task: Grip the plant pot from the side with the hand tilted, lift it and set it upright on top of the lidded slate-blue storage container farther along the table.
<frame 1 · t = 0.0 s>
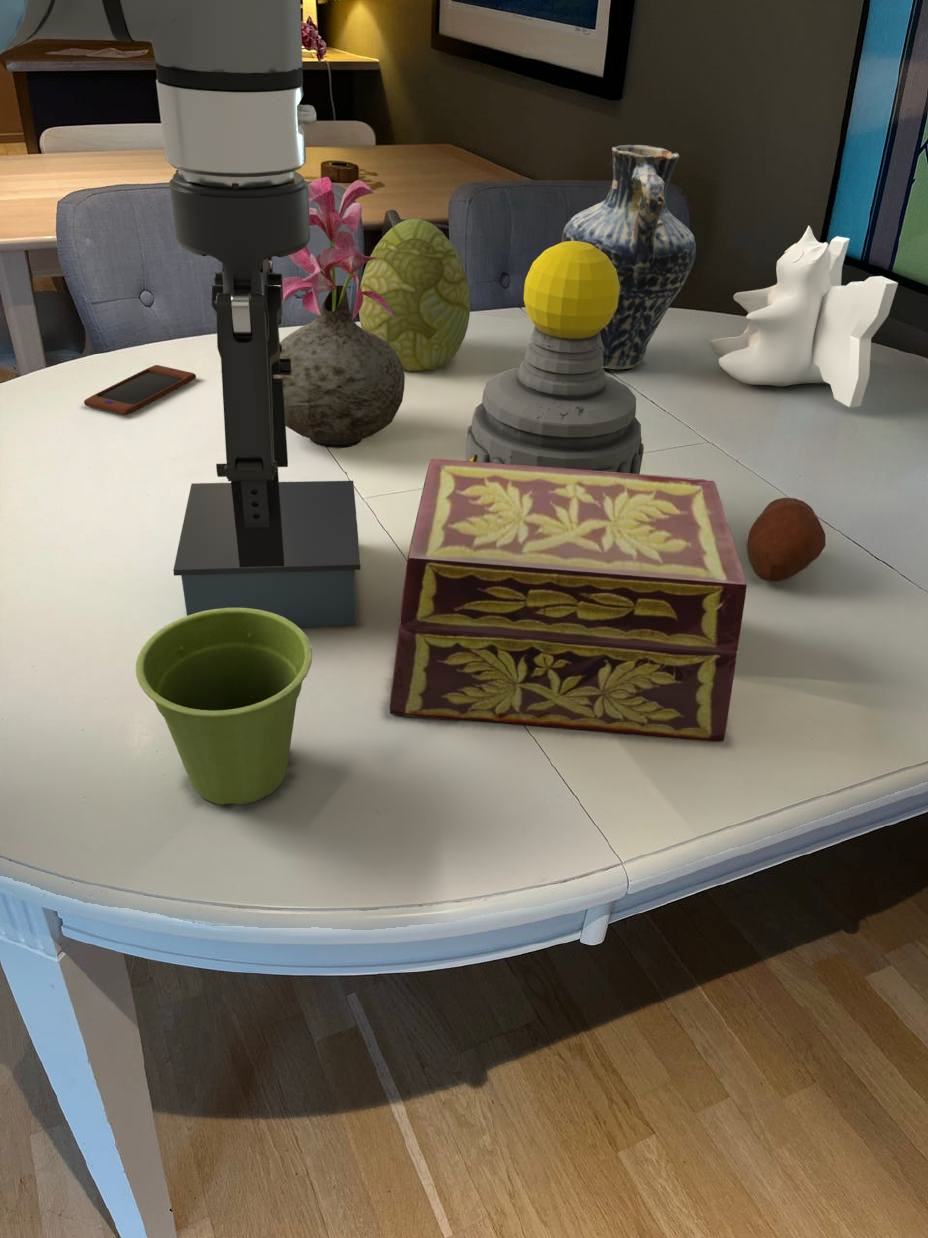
hand: (266, 510, 65), 20 cm above the table, tool pointing down, fingers open, 13 cm apart
potato: (777, 569, 101), on the table
decorative box: (554, 662, 86), on the table
smartphone: (142, 393, 129), on the table
decorative sculpture: (413, 359, 145), on the table
cat figurine: (778, 381, 145), on the table
vase: (338, 436, 122), on the table
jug: (612, 362, 149), on the table
burger: (314, 385, 135), on the table
decorative lamp: (544, 527, 105), on the table
container: (275, 583, 93), on the table
plant pot: (239, 775, 72), on the table
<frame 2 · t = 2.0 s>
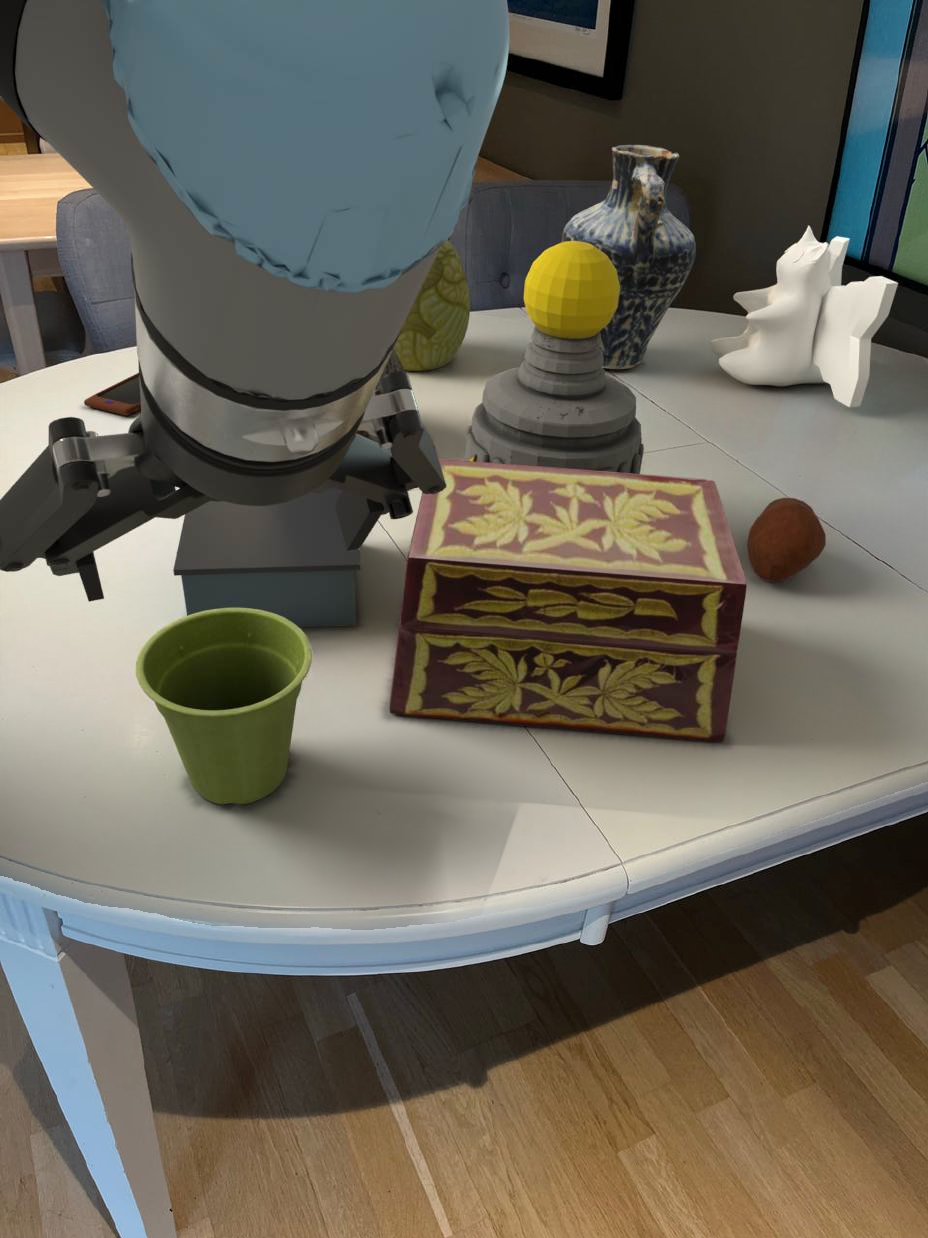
hand: (224, 550, 51), 25 cm above the table, tool tilted 45°, fingers open, 13 cm apart
nothing on the table moved.
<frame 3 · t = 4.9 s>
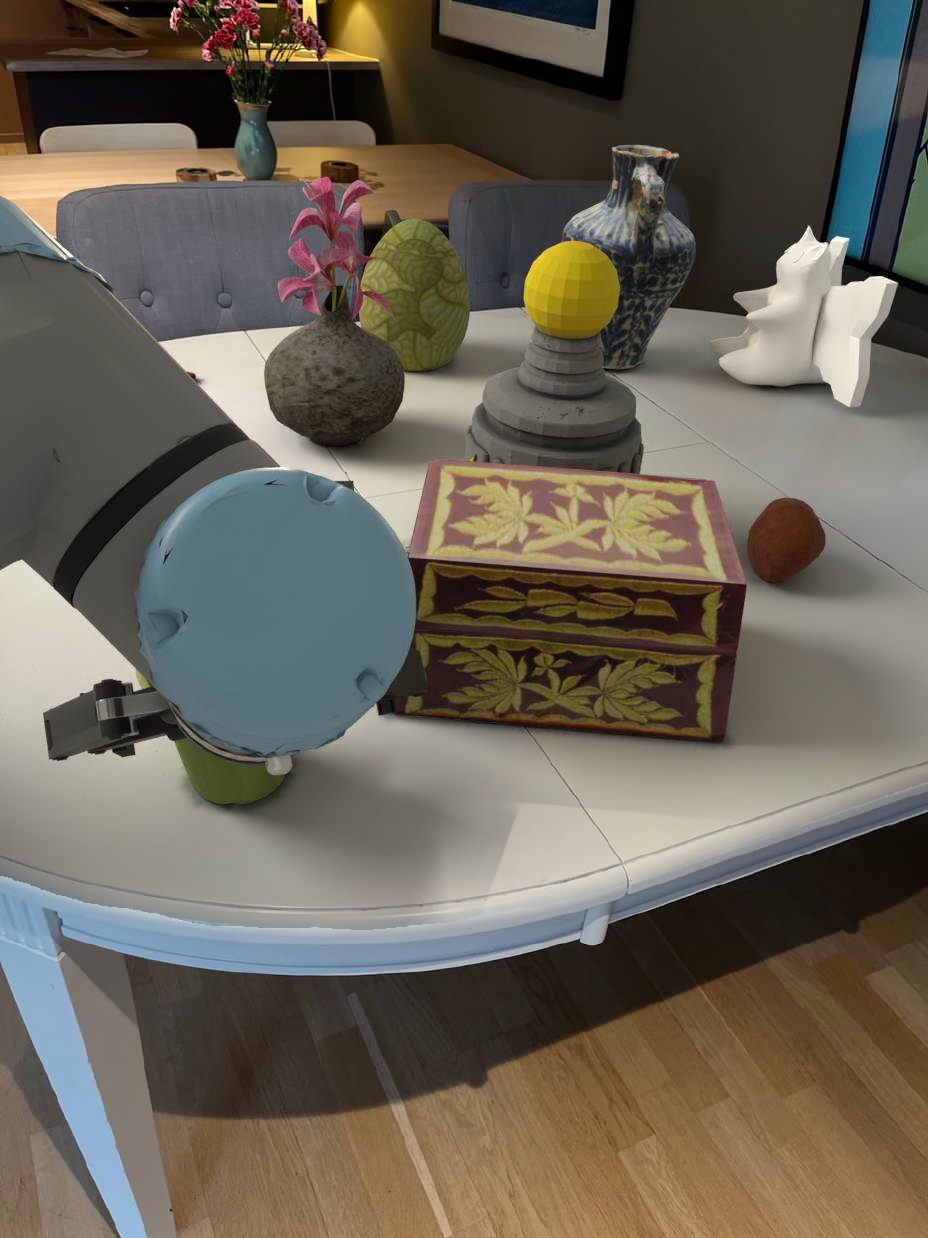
hand: (240, 714, 59), 12 cm above the table, tool tilted 45°, fingers open, 13 cm apart
nothing on the table moved.
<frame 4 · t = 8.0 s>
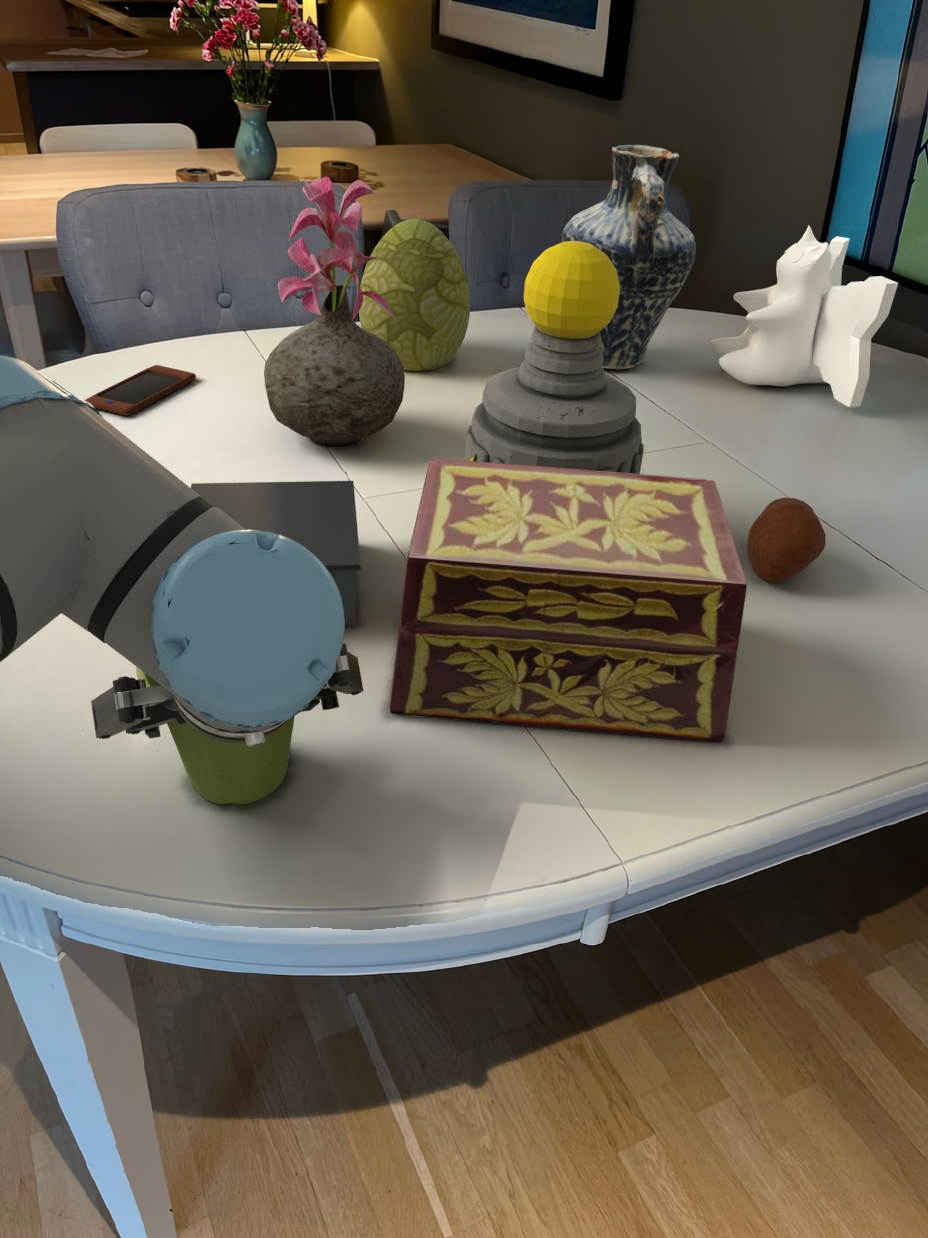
hand: (229, 706, 72), 4 cm above the table, tool tilted 45°, fingers closed on plant pot, 10 cm apart
plant pot: (239, 775, 72), on the table, touching gripper
everything else where it was.
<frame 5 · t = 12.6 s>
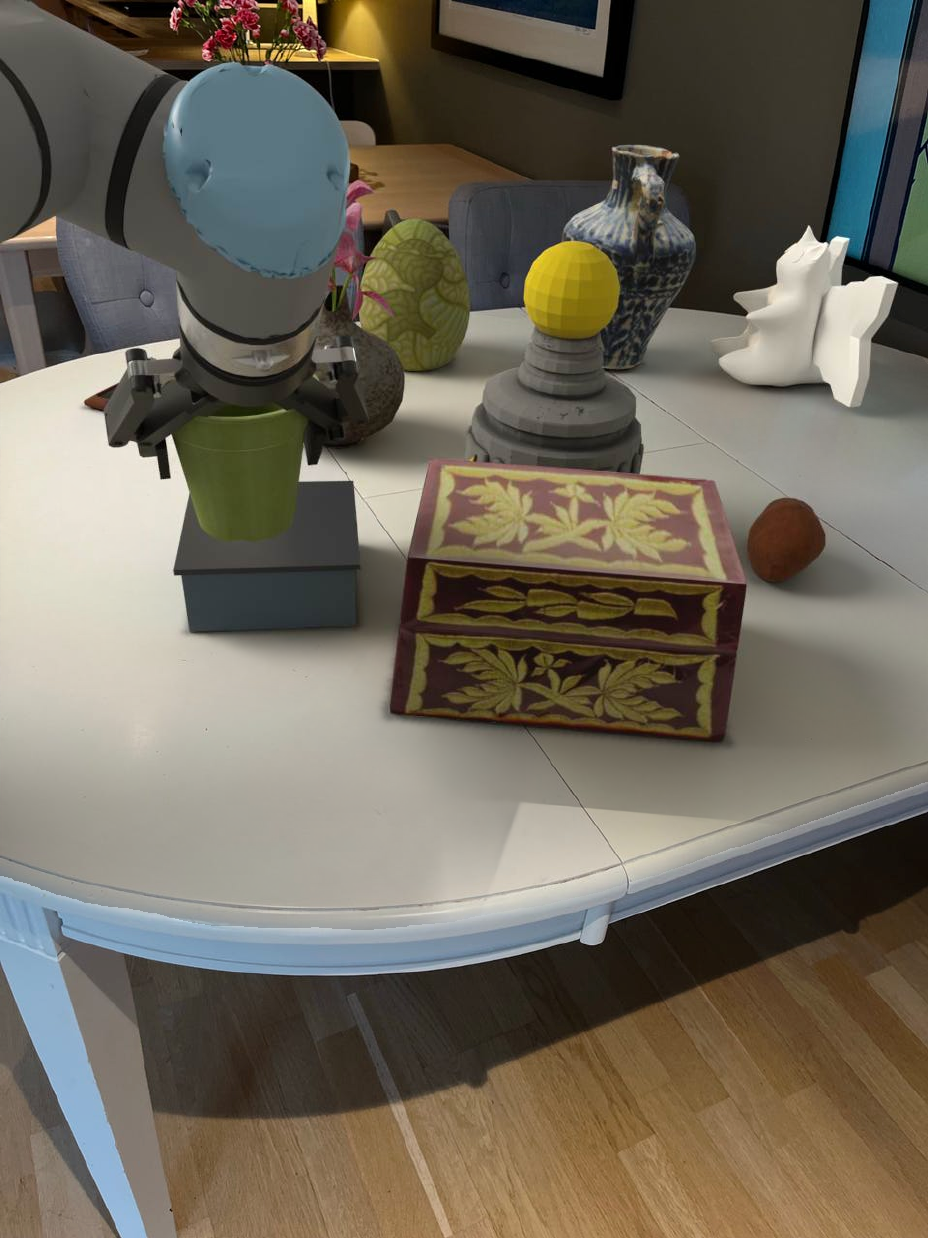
hand: (238, 455, 74), 19 cm above the table, tool tilted 45°, fingers closed on plant pot, 10 cm apart
plant pot: (248, 524, 74), point 15 cm above the table, touching gripper
everything else where it was.
when the fingers open (11 cm above the table, at t = 17.1 s): plant pot stays where it is, resting on container.
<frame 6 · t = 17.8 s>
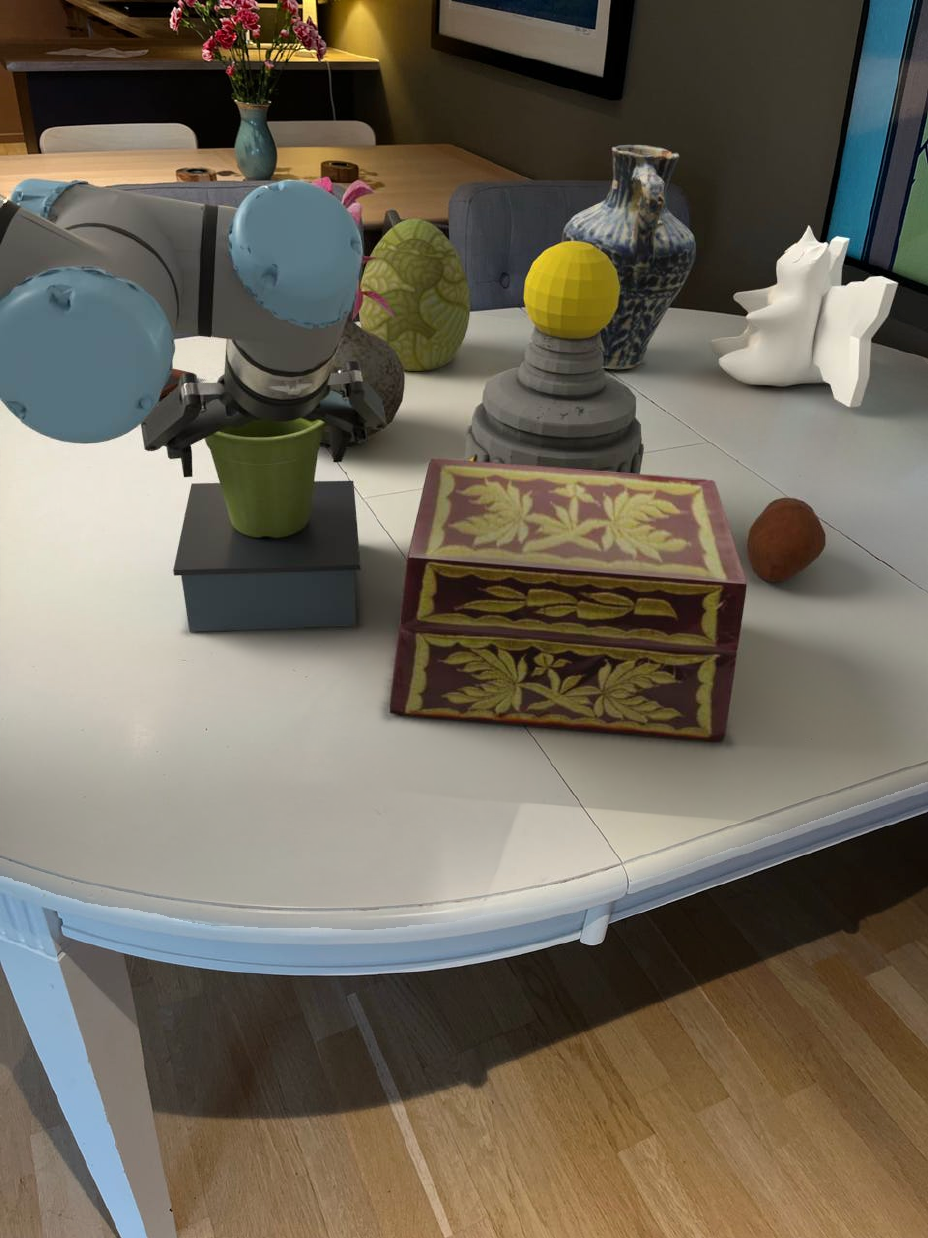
hand: (262, 455, 88), 13 cm above the table, tool tilted 45°, fingers open, 13 cm apart
plant pot: (271, 523, 89), point 7 cm above the table, touching container
everything else where it was.
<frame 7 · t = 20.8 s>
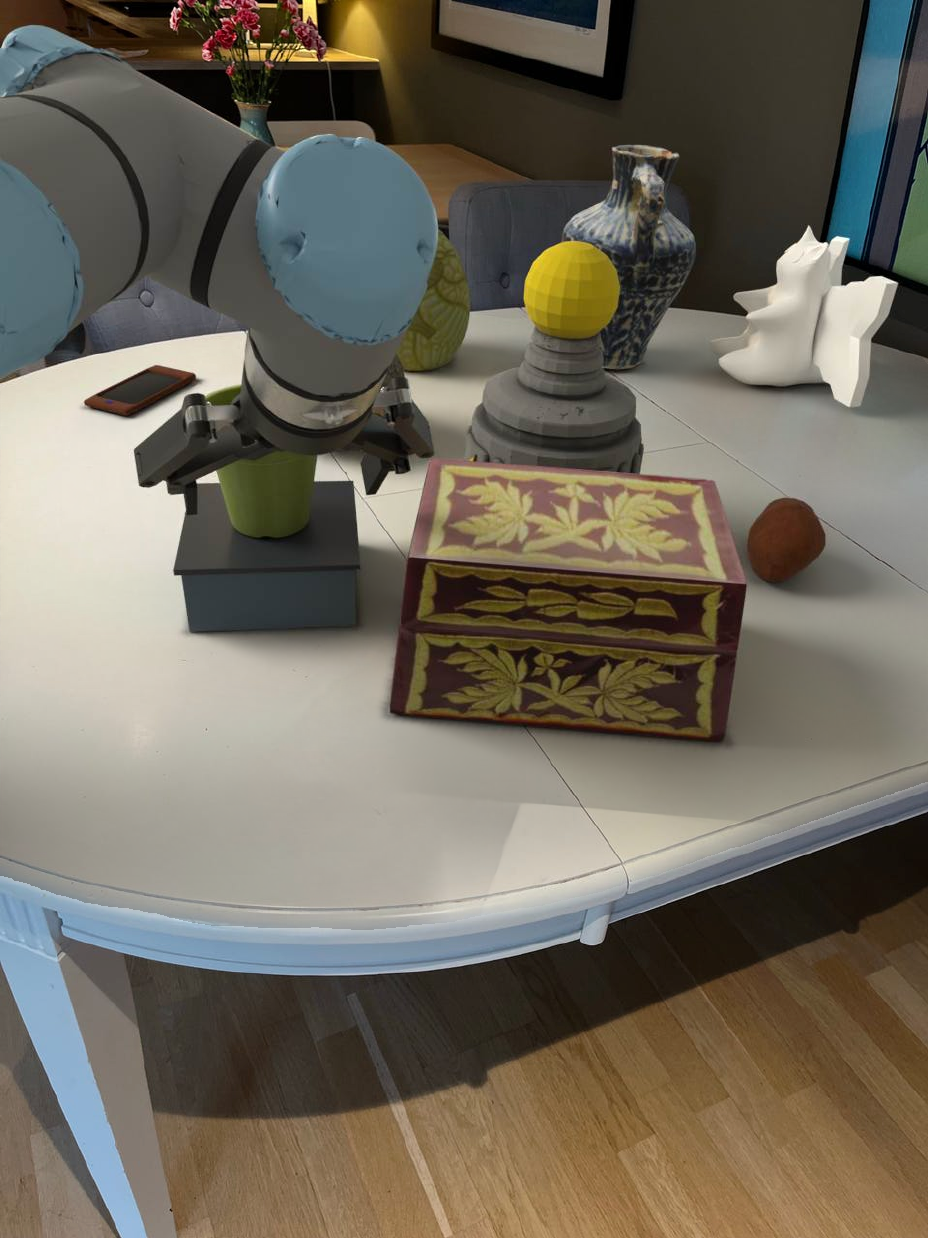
hand: (280, 487, 73), 17 cm above the table, tool tilted 45°, fingers open, 13 cm apart
nothing on the table moved.
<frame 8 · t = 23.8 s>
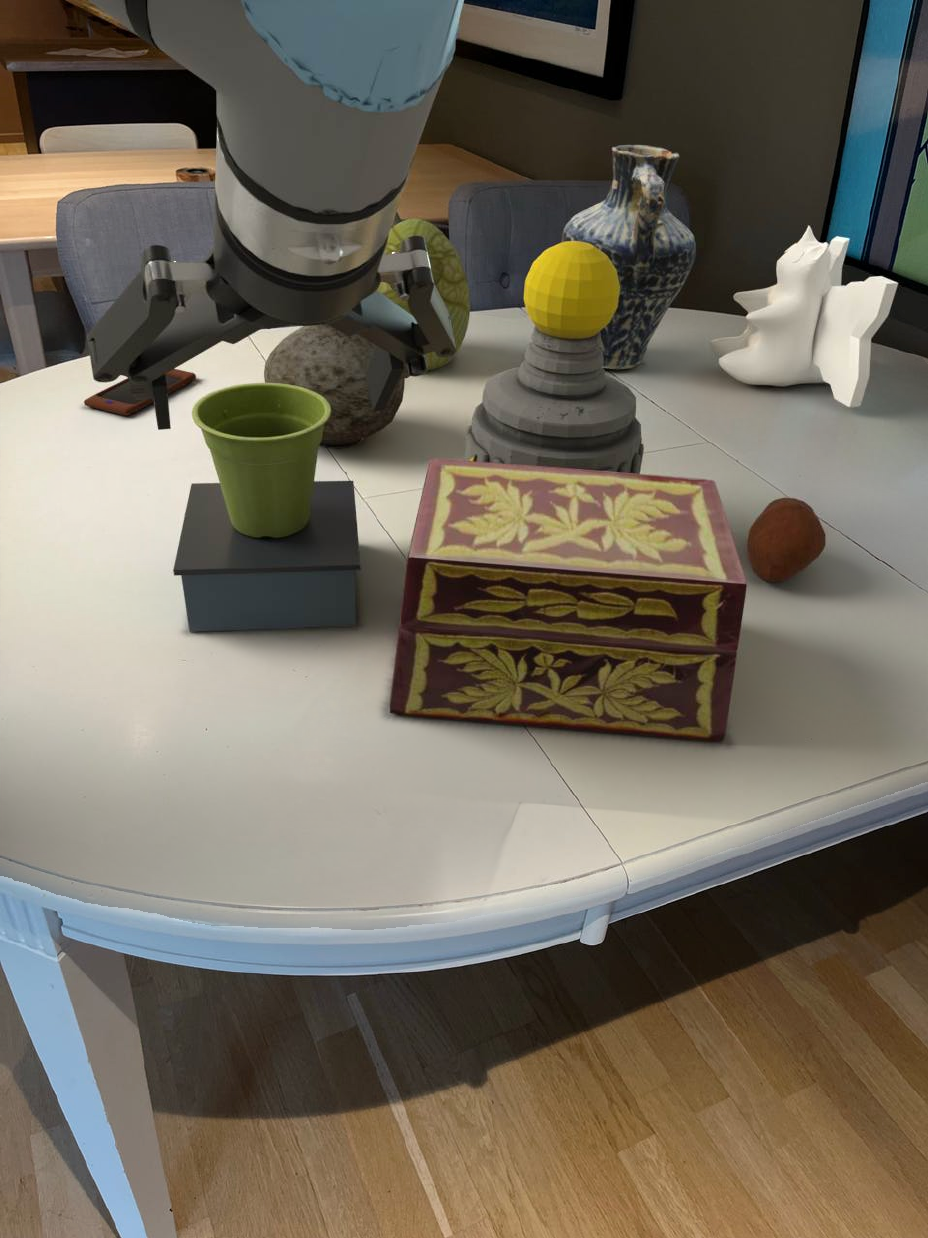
hand: (271, 400, 61), 28 cm above the table, tool tilted 45°, fingers open, 13 cm apart
nothing on the table moved.
at the end: plant pot inside the target area on the container (0.0 cm from its centre), point 6.8 cm above the container's base; plant pot tilted 0°; the gripper is holding nothing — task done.
